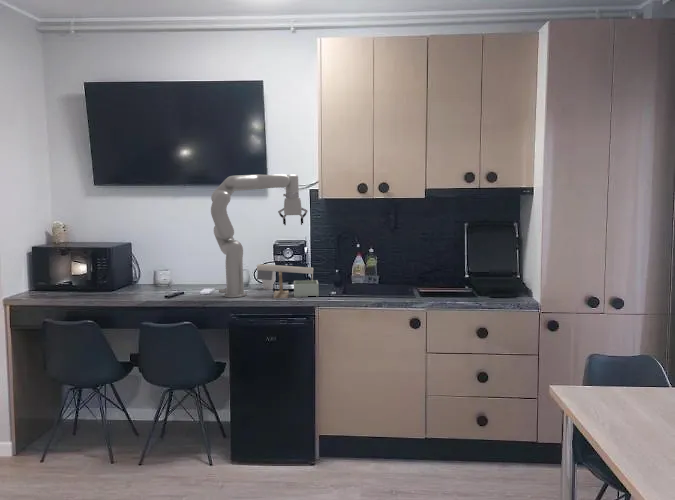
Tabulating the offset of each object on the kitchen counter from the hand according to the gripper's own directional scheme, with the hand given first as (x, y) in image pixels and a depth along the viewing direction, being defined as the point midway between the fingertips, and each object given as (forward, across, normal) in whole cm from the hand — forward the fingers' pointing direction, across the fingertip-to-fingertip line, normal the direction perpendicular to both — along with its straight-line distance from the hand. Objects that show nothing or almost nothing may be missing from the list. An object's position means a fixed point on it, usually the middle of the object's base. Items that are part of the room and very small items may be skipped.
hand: (293, 225), depth 355 cm
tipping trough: (+30, -6, -14) cm, 33 cm away
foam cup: (+38, -16, +6) cm, 42 cm away
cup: (+38, +6, -19) cm, 43 cm away
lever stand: (+38, -8, -19) cm, 43 cm away
